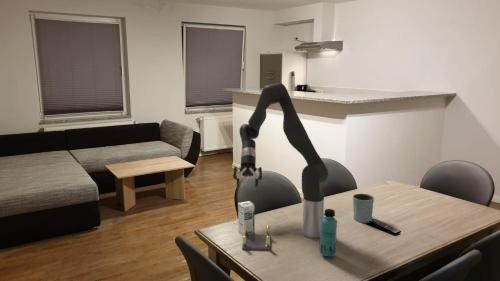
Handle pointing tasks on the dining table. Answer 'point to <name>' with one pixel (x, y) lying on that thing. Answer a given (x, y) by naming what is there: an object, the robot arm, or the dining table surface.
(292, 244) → the dining table surface
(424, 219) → the dining table surface
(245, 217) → the syrup box
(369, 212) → the teal cup
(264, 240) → the chassis plate
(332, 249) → the beverage bottle
